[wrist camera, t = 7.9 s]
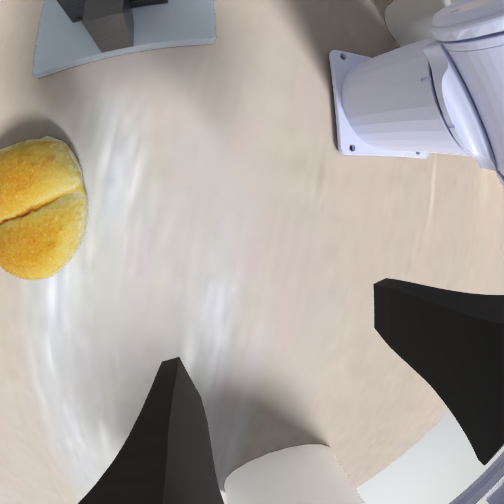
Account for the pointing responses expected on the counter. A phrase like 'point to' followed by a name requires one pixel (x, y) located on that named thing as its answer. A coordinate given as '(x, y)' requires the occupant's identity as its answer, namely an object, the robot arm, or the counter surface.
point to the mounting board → (145, 33)
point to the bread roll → (40, 207)
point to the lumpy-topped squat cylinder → (412, 19)
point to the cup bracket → (107, 20)
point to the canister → (292, 479)
